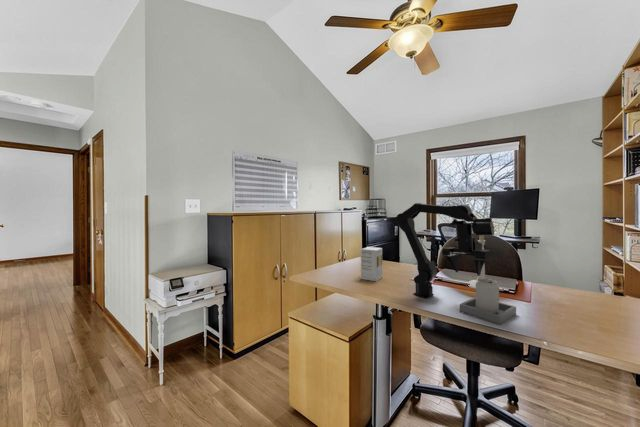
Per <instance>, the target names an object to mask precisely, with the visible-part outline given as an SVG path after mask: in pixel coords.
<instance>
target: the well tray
mask: <svg viewBox="0 0 640 427" xmlns="http://www.w3.org/2000/svg"><path fill="white" fill-rule="evenodd" d="M459 312H460V313H462V312H463V313H462V314H465V315H468V314H469V315H468V316H472V317H474V316H475V317H474V318H478V319H480V320H482V321H483V320H484V321H486V322H489V323H492V324H495V325H498V326H501V325H503V324H505V323H506V322H507V321H509V320H511V319H512V318H513V317H515V316H516V315H517V306H515V305H511V304H507V303H503V302H501V301H499V311H498V313H496V314H494V313H490V312H487V311H484V310H480V309H477V308H476V296H474V297H472V298H470V299H468V300H466V301H463V302H461V303H459Z"/></svg>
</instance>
